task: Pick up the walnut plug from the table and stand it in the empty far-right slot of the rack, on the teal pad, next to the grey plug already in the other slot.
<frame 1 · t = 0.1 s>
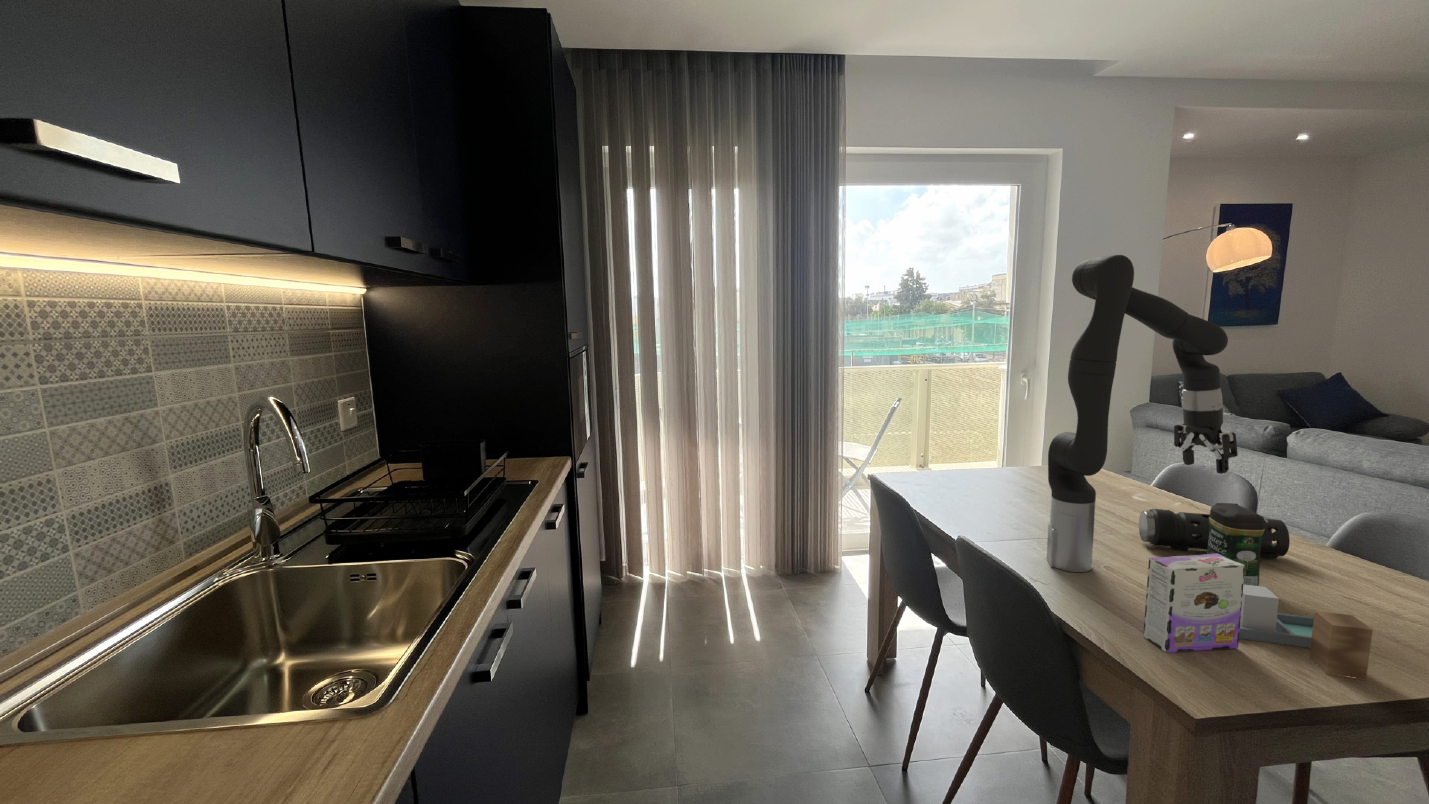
hand: (1205, 468, 144), 22 cm above the table, tool pointing down, fingers open, 8 cm apart
muzzle brake: (1207, 553, 147), on the table
candy box: (1189, 643, 108), on the table
walnut plug: (1336, 668, 99), on the table
coffee jar: (1229, 586, 129), on the table
divider rack: (1279, 633, 110), on the table
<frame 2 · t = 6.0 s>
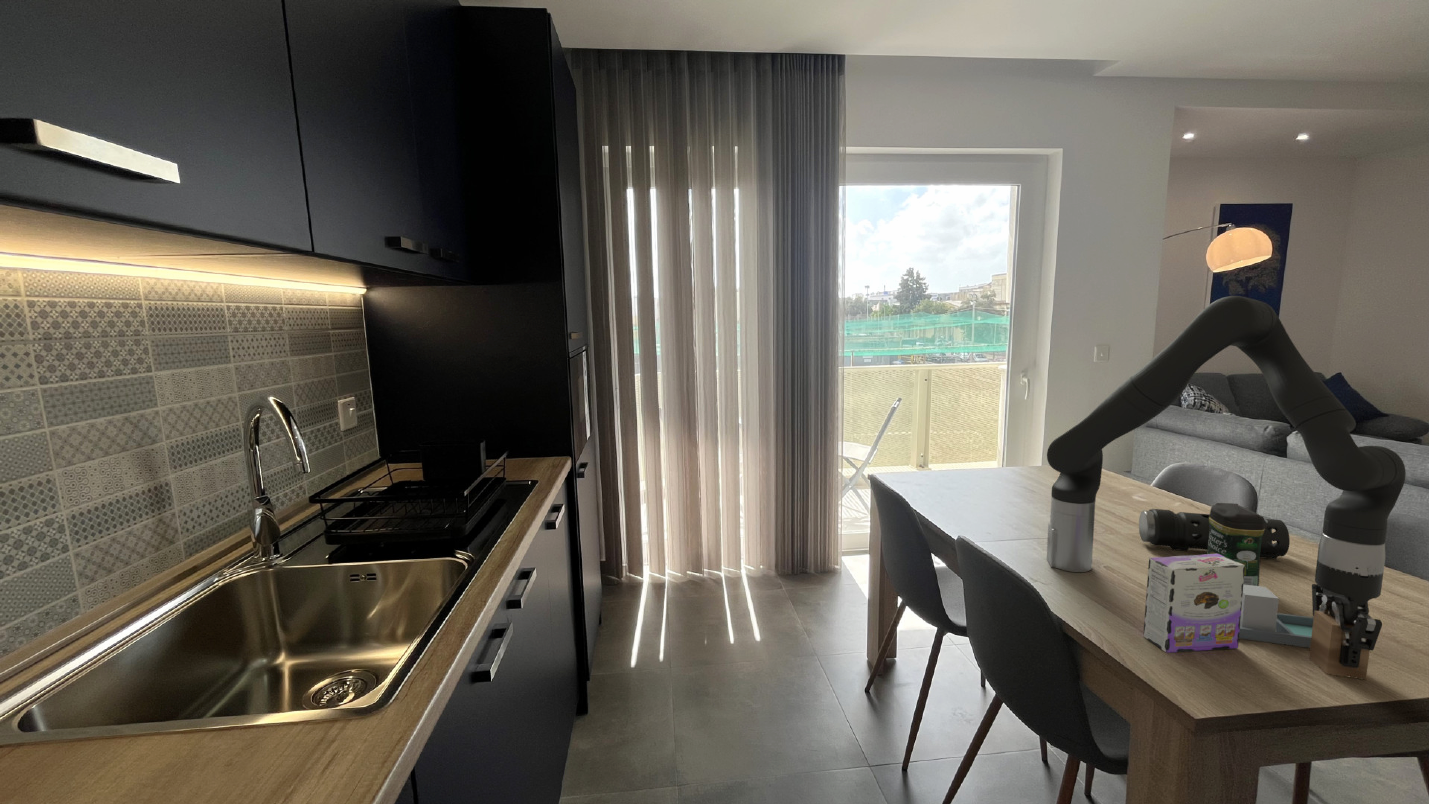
hand: (1338, 656, 98), 2 cm above the table, tool pointing down, fingers closed on walnut plug, 5 cm apart
walnut plug: (1336, 668, 99), on the table, touching gripper
everything else where it was.
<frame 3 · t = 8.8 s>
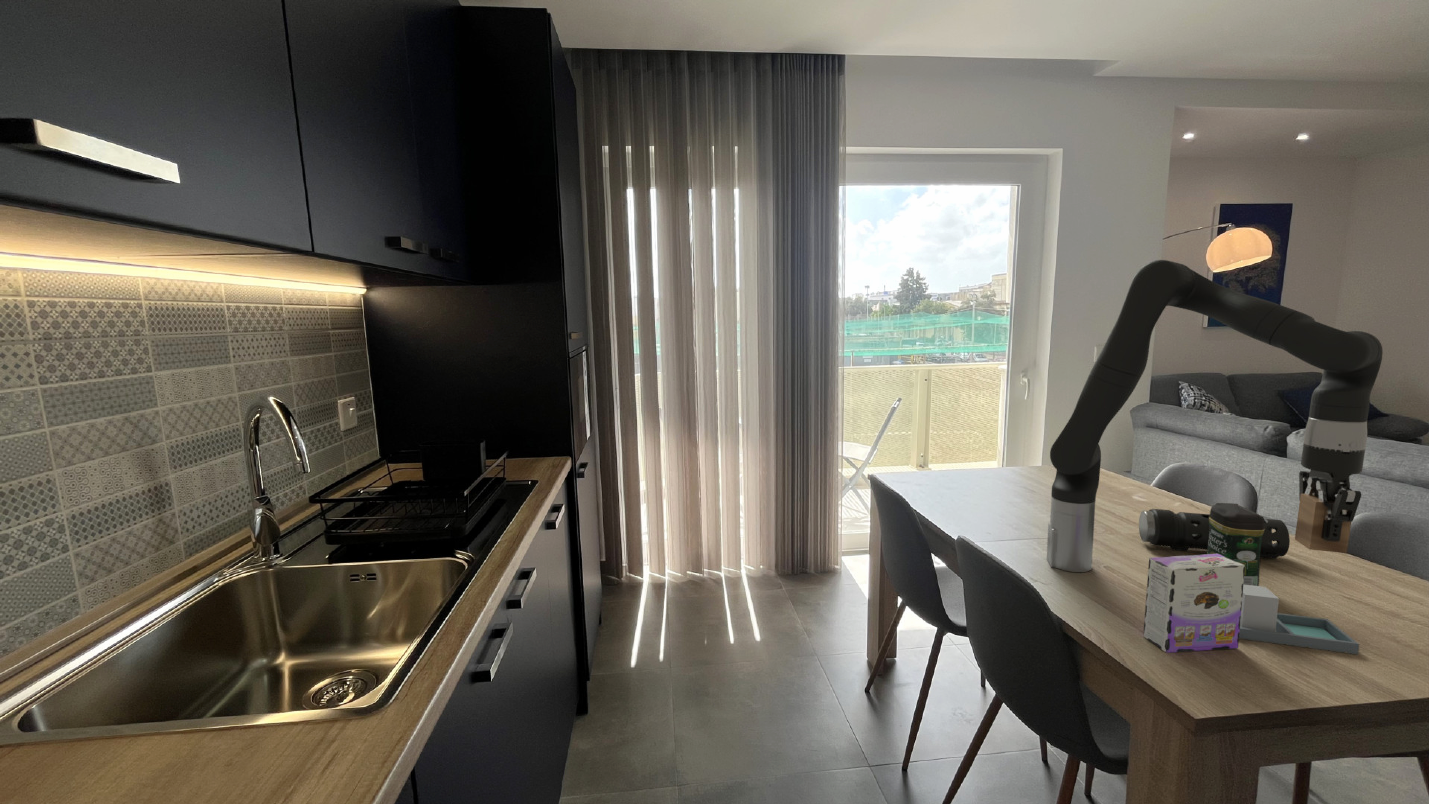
hand: (1321, 534, 104), 21 cm above the table, tool pointing down, fingers closed on walnut plug, 5 cm apart
walnut plug: (1319, 546, 105), point 19 cm above the table, touching gripper
everything else where it was.
when the fingers open (4 cm above the table, at t = 11.8 s): walnut plug stays where it is, resting on divider rack.
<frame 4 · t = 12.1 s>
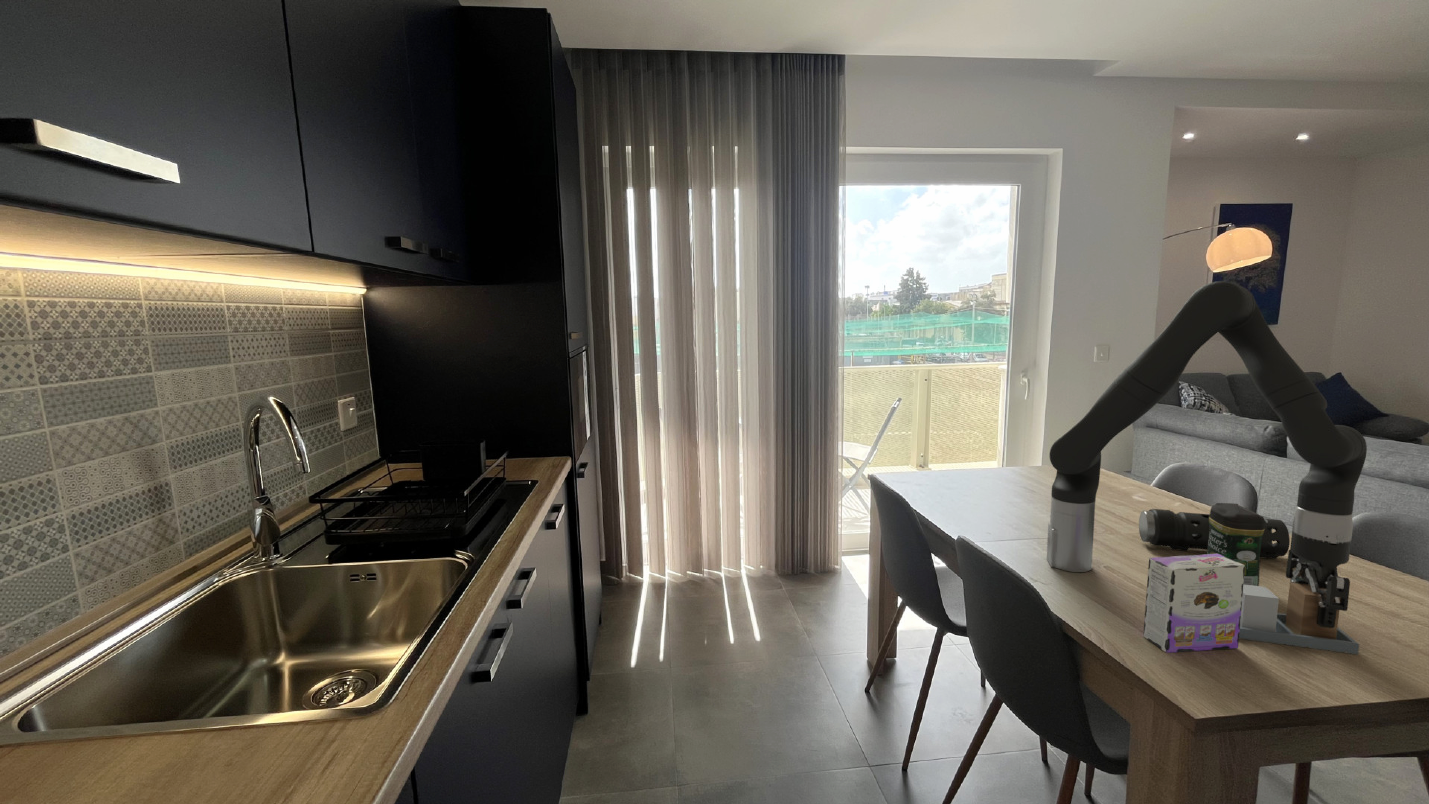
hand: (1311, 615, 108), 4 cm above the table, tool pointing down, fingers open, 8 cm apart
walnut plug: (1309, 634, 108), resting on divider rack
everything else where it was.
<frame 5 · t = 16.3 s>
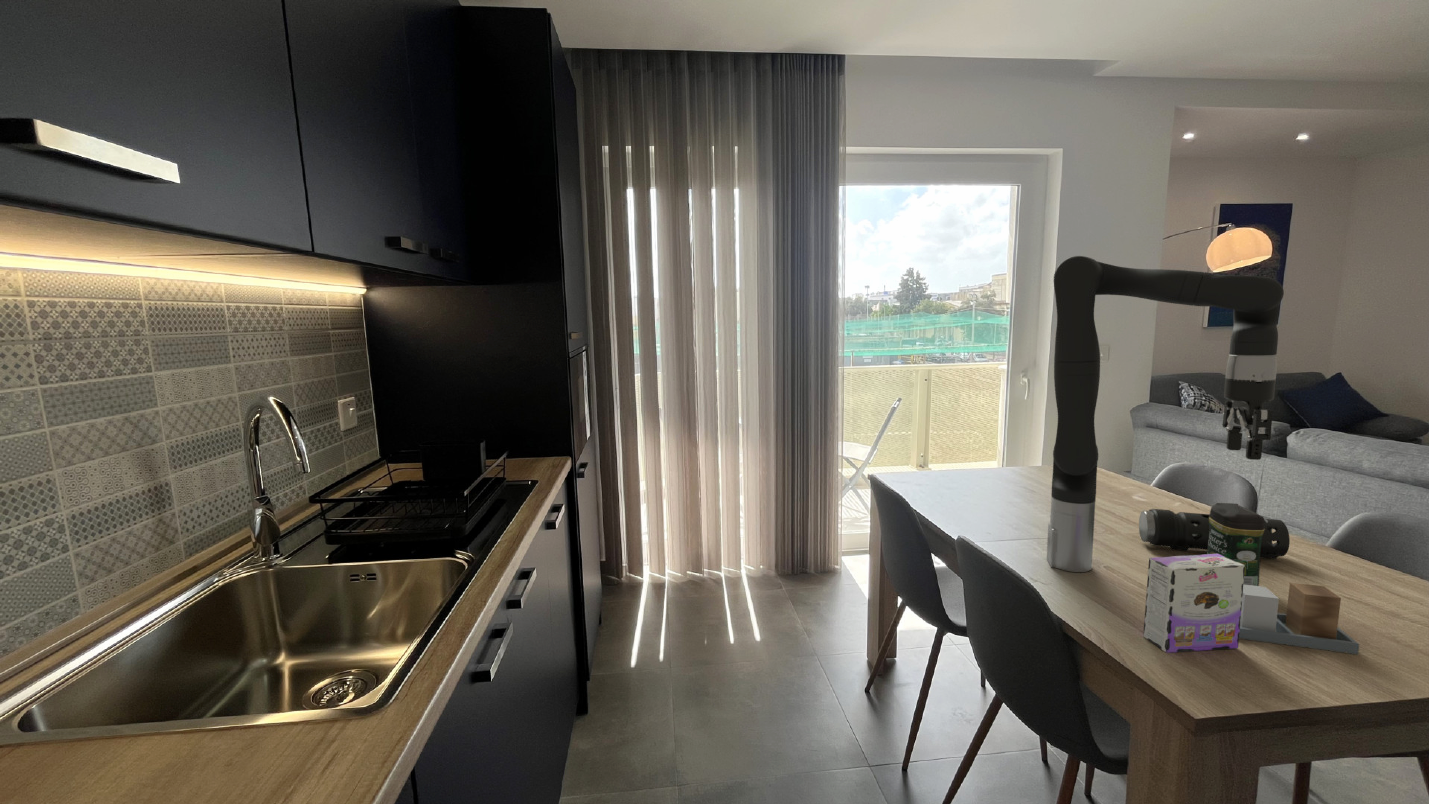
hand: (1243, 454, 119), 32 cm above the table, tool pointing down, fingers open, 8 cm apart
nothing on the table moved.
at the end: walnut plug 0.0 cm from the target spot on the divider rack, point 0.4 cm above the divider rack's base; walnut plug tilted 0°; the gripper is holding nothing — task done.
